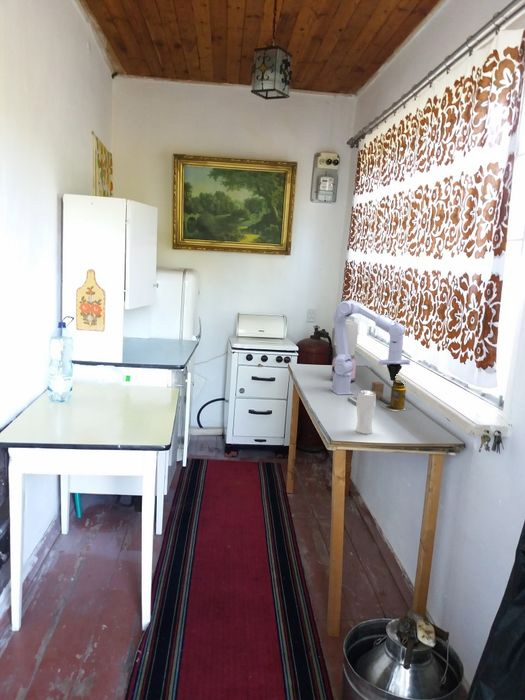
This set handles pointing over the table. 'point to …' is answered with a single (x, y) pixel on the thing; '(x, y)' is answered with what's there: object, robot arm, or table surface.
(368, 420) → the beer glass
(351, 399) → the panel
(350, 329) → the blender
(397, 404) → the condiment
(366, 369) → the table surface
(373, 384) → the walnut block
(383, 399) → the dark gray rod
